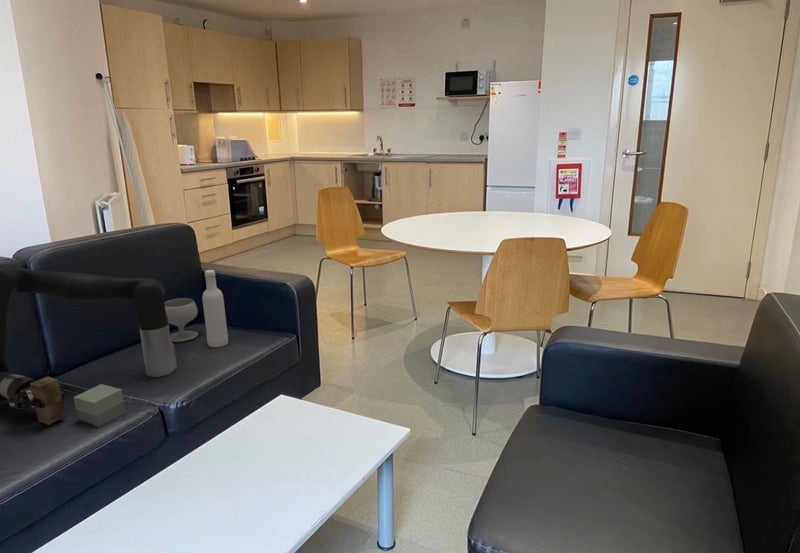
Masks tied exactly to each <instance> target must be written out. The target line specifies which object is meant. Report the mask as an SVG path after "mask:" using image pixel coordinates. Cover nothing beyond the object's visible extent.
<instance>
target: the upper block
mask: <svg viewBox="0 0 800 553" xmlns="http://www.w3.org/2000/svg"><path fill="white" fill-rule="evenodd" d="M73 402H74V408H75V410H76V411H77V410H79V411H82V412H86V413H89V414H93V415H96V416H97V415H99V414H101V413H103V412H105V411H107V410H108V409H110V408H112V407H114V406H116V405H118V404H120V403H122V402H125V401H124V396H123V390H122V389H121V388H117V387H114V386H110V385H106V384H102V383H100V384H99V385H96V386H94V387H93V388H90V389H88V390H86V391H84V392H81V393H80V394H78V395H75V396H73Z"/></svg>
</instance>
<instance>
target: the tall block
mask: <svg viewBox="0 0 800 553" xmlns="http://www.w3.org/2000/svg"><path fill="white" fill-rule="evenodd" d="M59 384H60V383H59V379H57V378H54V377H50V376H45V377H43V378H41V379H38V380H36V381H35V382H33V383H30V386H31V390H32V395H33V397H34V398H35V399H39V400H42V401H44V404H45V408H43V409H42V408H36V407H34V408H35V412H36V416H37V419H38V422H39V423H40V422H41V423H42V424H45V425H47V426H49V425H51V424H53V423H56V422H58V421H60V420H62V419H64V418H66V411H65V406H64V403H63V400H62V398H61V392H60V387H59Z"/></svg>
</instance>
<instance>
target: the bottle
mask: <svg viewBox="0 0 800 553" xmlns="http://www.w3.org/2000/svg"><path fill="white" fill-rule="evenodd" d="M204 277H205V286H206V289H205V290H204V291H203V294H202V298H201V299H202V306H203V316H204V323H205V331H206V332H205V333H206V342H207V346H208V347H210V348H222V347H224V346H227V345H228V344H229V335H228V329H227V327H228V326H227V318H226V309H225V308H226V307H225V300H224V294H223V292H222V290H221V289H219V288H218V287H217V280H216V272H215V270H214V269H207V270H204Z"/></svg>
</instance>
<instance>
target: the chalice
mask: <svg viewBox="0 0 800 553" xmlns="http://www.w3.org/2000/svg"><path fill="white" fill-rule="evenodd" d="M164 303H165V310H166V315H167V318H168V324H170V325H173V326H175V327H177V328H178V331H177V332H173V333H171V334H170V339H171V343H179V342H180V343H181V342H186V341H190V340H193V339H195V338H197V337H198V336H199V333H198V332H197V331H194V330H185V326H186V325H187V324H188V323H190V322H191V321H193V320H194V319H195V318H196V317H197V315H198V313H199V312H198V306H197V305H196V302H195V300H194V299H192V298H188V297H187V298H186V297H184V298H181V297H180V298H174V299H170V300H167V301H164Z"/></svg>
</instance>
